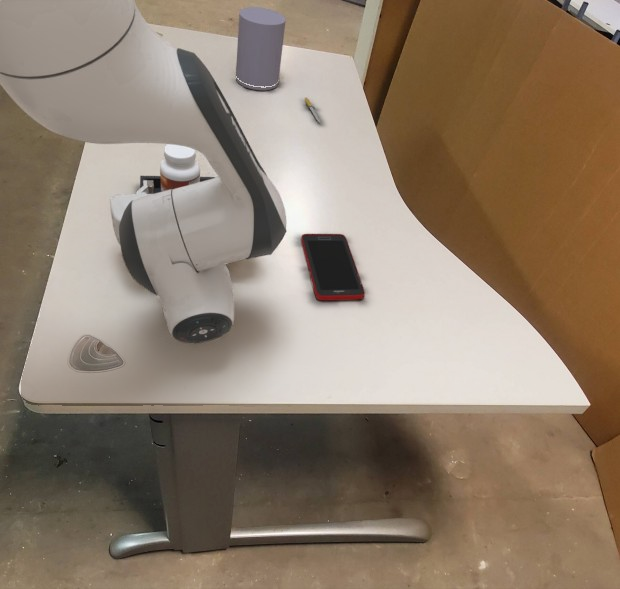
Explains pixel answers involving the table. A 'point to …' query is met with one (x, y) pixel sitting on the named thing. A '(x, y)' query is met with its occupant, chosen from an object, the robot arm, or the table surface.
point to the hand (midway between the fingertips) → (180, 183)
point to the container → (259, 47)
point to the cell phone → (332, 267)
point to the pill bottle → (178, 167)
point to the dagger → (311, 108)
